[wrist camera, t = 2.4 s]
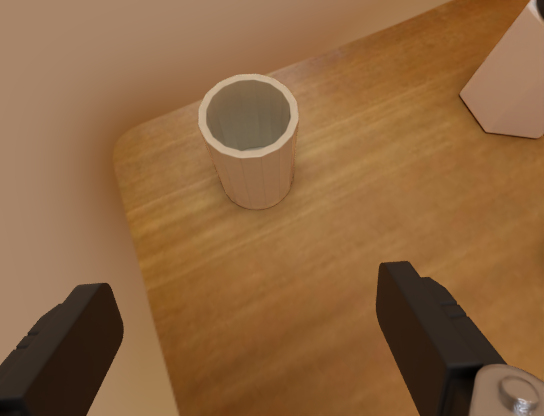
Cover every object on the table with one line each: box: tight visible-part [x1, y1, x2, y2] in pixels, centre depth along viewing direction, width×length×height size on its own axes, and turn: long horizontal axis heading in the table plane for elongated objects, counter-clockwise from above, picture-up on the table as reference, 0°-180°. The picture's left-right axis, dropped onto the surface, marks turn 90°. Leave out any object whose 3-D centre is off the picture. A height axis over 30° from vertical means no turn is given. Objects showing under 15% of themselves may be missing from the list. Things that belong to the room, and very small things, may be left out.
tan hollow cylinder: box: [198, 74, 299, 210], centre depth 24 cm, size 6×6×9 cm
